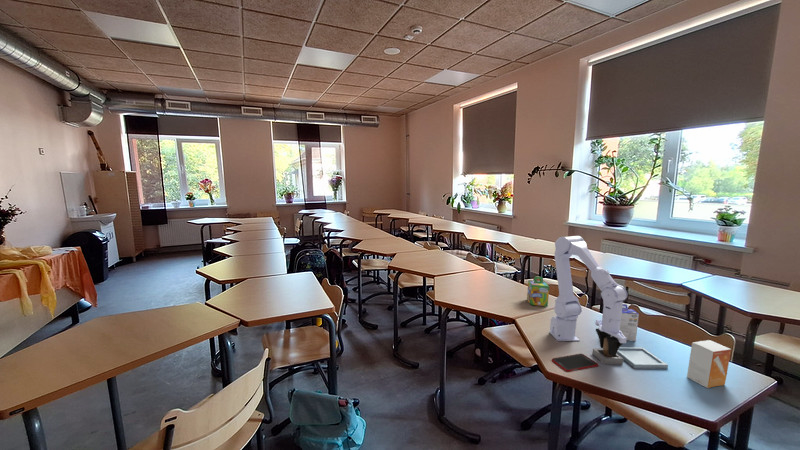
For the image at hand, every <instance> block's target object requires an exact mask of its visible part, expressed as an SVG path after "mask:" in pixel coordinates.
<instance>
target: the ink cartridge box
mask: <svg viewBox="0 0 800 450" xmlns="http://www.w3.org/2000/svg"><path fill="white" fill-rule="evenodd" d="M639 316H640V313H638V312H637V311H635V310H634V309H632V308H630V309H629V308H628V304H627V303H626V304H625V303H623V306H622V314H621V323H620V331H621V332H622V334H623V335H624V336H625V337H626V338H627V340H626V341H632V342H637V335H638V325H639ZM610 337H612V335H611V336H610Z"/></svg>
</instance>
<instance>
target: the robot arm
mask: <svg viewBox="0 0 800 450" xmlns="http://www.w3.org/2000/svg"><path fill="white" fill-rule="evenodd" d="M587 245H588V244H587V242H586V241H585V240H584V238H583V237H582V236H580V235H570V236H560V237H558V238H557V239H556V241H554V248H555V250H554V263H555V269H556V270H555V271H556V278H557V287H558V294H559V295H558V296H557V297H556V298H555V301H554V302H555V305H554V308H553V309H554V314H555V316H552V317H551V318H550V325H549V331H548V333H549V334H550V335H551V336H552V337H553V338H554V339H555V340H556V341H558V342H559V341H563V342H565V341H566V342H567V341H568V342H569V341H570V342H579V341H580V339H579V338H578V337H577V336H576V332H577V331H576V330H577V321H578V320H577V319H578V318H579V315H581V314H582V311H583V310H582V308H583V307H582V305H581V304H580V301H579V298H578V297H577V296H576V295H575V294H574V286H573V279H572V271H571V262H570V258H571V257H572V256H577V257H578V258H579V259H580V260H581V262H582V263H583V264H584V265H585V266H586V267H587V269H589V271H590V277H591V278H592V280H593V281H594V283H595V284H596V286H597V287H598V288H599V289H600V291H601V292H600V297H601V298H602V300H603V301H602V303H603V310H602V318H601V319H596V320H595V326H598V328H595V332H596V334H597V337H598V340H599V346H600V348H601V349H603V344H604V337H606V338H607V341H608V352H609V355H616V353H617V351H618V349H619V347H622V345H623V344H627V341H628V340H627V338H626V337H625V336H624V335H623V334H622V332H621V331H620V323H621V314H622V308H623V307H624V306H623V304H624V301H626V300H627V298H628V291H627V289H626V288H625V287H624V286H623V285H620V284H618V282H616V281H615V280H614V278H613V277H612V276H611V275H610V272H609V270H607V269H605V268H604V267H601V266H600V265H599V264H598V262H597V261H596V259H595V258H594V257H593V255H592V253H591V252H590V250H589V248H588V246H587ZM611 335H612V337H610V336H611Z"/></svg>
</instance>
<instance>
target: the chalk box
mask: <svg viewBox="0 0 800 450" xmlns="http://www.w3.org/2000/svg"><path fill="white" fill-rule="evenodd" d="M533 278H534V279H532V280H528V281H527V292H526V300H527V302H528V304H529V305H530V306H537V307H546V306H547V307H548V304H549V296H550V295H549V293H550V286H549V284H548V283H547V282H545V281H544V277H543V276H534V277H533Z"/></svg>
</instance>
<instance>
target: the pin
mask: <svg viewBox="0 0 800 450" xmlns="http://www.w3.org/2000/svg"><path fill="white" fill-rule="evenodd" d="M602 349H603V354H602V355H604V356H605V357H613V355H609V352H608V341H607V338H606V337H604V344H603V348H602Z"/></svg>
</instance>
